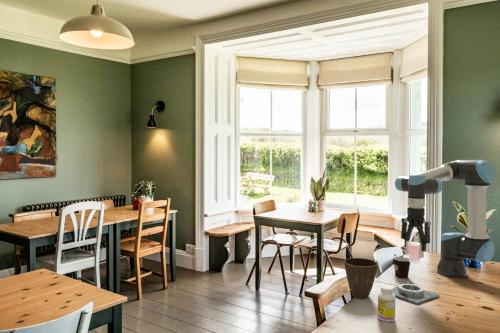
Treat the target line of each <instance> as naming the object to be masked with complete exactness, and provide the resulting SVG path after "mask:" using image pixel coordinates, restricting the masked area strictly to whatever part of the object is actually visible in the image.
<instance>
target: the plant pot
mask: <svg viewBox="0 0 500 333" xmlns="http://www.w3.org/2000/svg"><path fill="white" fill-rule="evenodd" d="M343 263H344V270H345V275H346V280H347V283H348V287H349V290H350V293H351V296H352V297H354V298H355V299H356V298H357V299H368V298H369V297H370V294H371V292H372V289H373V286H374V282H375V280H376V275H377V274H376V273H377V269H378V262H376V261H375V260H372V259H368V258H361V257H353V258H352V257H351V258H350V257H349V258H346V259H344V262H343Z"/></svg>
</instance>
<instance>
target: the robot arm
mask: <svg viewBox="0 0 500 333" xmlns="http://www.w3.org/2000/svg"><path fill="white" fill-rule="evenodd" d="M495 177H496V170H495V167H494V165H493V164H492V162H490V161H488V160H483V159H455V160H452V161H449V162H445V163H442V164H439V166H437V167H435V168H431V169H429V170H428V169H427V170H426V171H422V172H418V173H415V174H414V173H413V174H409V175H408V176H398V177H396V179H395V182H394V186H395V187H394V188H396V190H397V191H400V192H407V210H406V211H407V212H406V214H407V216H406V217H403V218H401V232H400V238H401V240H404V248H405V256H409V245H408V242H412V240H411V235H412V233H413V229H414V228H416V230H417V232H418V237H419V240H420V242H419V243H420V244H419V258H420V259H423V258H425V251H426V250H427V249H426V248H427V247H426V246H427V244H430V243H431V229H430V227H431V223H432V222H431V221H427V220H426V219H425V216H426V215H425V210H426V209H425V206H426V195H435V194H439V193H441V192H442V191H443V188H444V186H443V182H449V181H459V182H464V186H465V188H467V232H466V233H464V232H444V233H442V234H441V236H440V258H439V261H438V264H437V266H436V273H438V274H440V275H443V276H447V277H452V278H465V277H467V276H468V274H467V268H466V264H465V260H464V259H467V260H470V261H475V262H476V263H477V262H478V263H484V264H485V263H487V262H490V261H491V260H492V259H493V257H494V254H495V251H496V247H495V243H494V242H493V241H491V240H490V238H491V237H490V235H488V234H487V189H488V188H489V187H490V186H491V185H490V184H491V183H493V182H494V180H495Z"/></svg>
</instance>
